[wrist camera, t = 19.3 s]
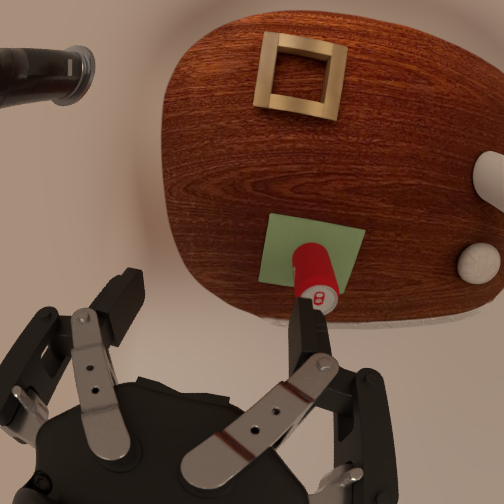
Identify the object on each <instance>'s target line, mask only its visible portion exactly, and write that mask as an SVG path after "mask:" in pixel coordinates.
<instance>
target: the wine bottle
mask: <svg viewBox="0 0 504 504" xmlns="http://www.w3.org/2000/svg"><path fill="white" fill-rule="evenodd" d="M473 183H474V187H475V190H476V192H477V193H478V195H479V196H480V197H481V198H482V199H484V200H485V201H487V202H488V203H490V204H491V205H493V206H495V207H496V208H498V209H499V210H501V211H502V212H503V213H504V155H501V154H499V153H496V152H493V151H488V152H485V153H483V154H482V155H480V156H479V158H478V159H477V161H476V163H475V166H474V170H473Z"/></svg>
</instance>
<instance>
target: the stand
mask: <svg viewBox="0 0 504 504" xmlns="http://www.w3.org/2000/svg"><path fill="white" fill-rule="evenodd" d="M347 50H348V47H345V46H341V45H337V44H333V43H329V42H325V41H320V40H316V39H311V38H306V37H300V36H295V35H288V34H282V33H274V32H264V36H263V42H262V49H261V55H260V62H259V68H258V75H257V82H256V89H255V96H254V103H253V106H255V107H262V108H269V109H275V110H282V111H288V112H294V113H299V114H304V115H309V116H314V117H319V118H323V119H328V120H333V121H337V115H338V110H339V104H340V98H341V92H342V85H343V79H344V72H345V65H346V58H347ZM278 52H281V53H288V54H294V55H300V56H305V57H310V58H315V59H320V60H324V61H326V68H325V74H324V81H323V87H322V94H321V100H320V102H315V101H310V100H305V99H300V98H294V97H289V96H282V95H276V94H271V93H272V86H273V80H274V73H275V66H276V60H277V53H278Z"/></svg>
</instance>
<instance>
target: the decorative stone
mask: <svg viewBox="0 0 504 504" xmlns="http://www.w3.org/2000/svg"><path fill="white" fill-rule="evenodd" d="M499 267H500V255H499V253H498V251H497V250H496V248H494V247H493V246H492V245H489V244H487V243H476V244H473V245H471V246H469V247H468V248H466V249H465V250H464V251H463V253H462V254H461V256H460V258H459V260H458V273H459V275H460V277H461V278H462V279H463V280H465V281H466V282H469V283H472V284H482V283H485V282H487V281H489V280H491V279H492V278H493V277H494V276H495V275H496V273H497V272H498V270H499Z"/></svg>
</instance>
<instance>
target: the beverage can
mask: <svg viewBox="0 0 504 504" xmlns="http://www.w3.org/2000/svg"><path fill="white" fill-rule="evenodd" d="M292 267H293V278H294V291H295V299H296V298H297V297H303V298H311V299H312V303H313V309H318V310H321V312H322V313H323V314H324V315H326V314H328V313H329V312H331V311H332V310H333V309H334V308H335V307H336V305H337V301H338V297H339V286H338V283H337V280H336V276H335V273H334V270H333V267H332V264H331V260H330V257H329V254H328V251H327V250H326V248H325V247H324V246H322V245H321V244H318V243H314V242H309V243H305V244H302V245H300V246H299V247H298V248H297V249H296V250H295V251H294V253H293V256H292Z"/></svg>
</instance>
